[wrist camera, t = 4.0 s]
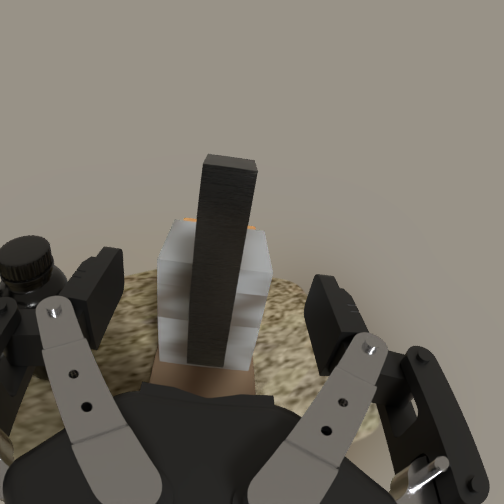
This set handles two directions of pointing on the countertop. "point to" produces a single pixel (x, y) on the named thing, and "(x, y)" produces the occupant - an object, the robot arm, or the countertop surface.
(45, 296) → the supplement bottle
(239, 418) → the robot arm
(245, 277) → the stand
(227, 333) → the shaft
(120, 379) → the countertop surface
